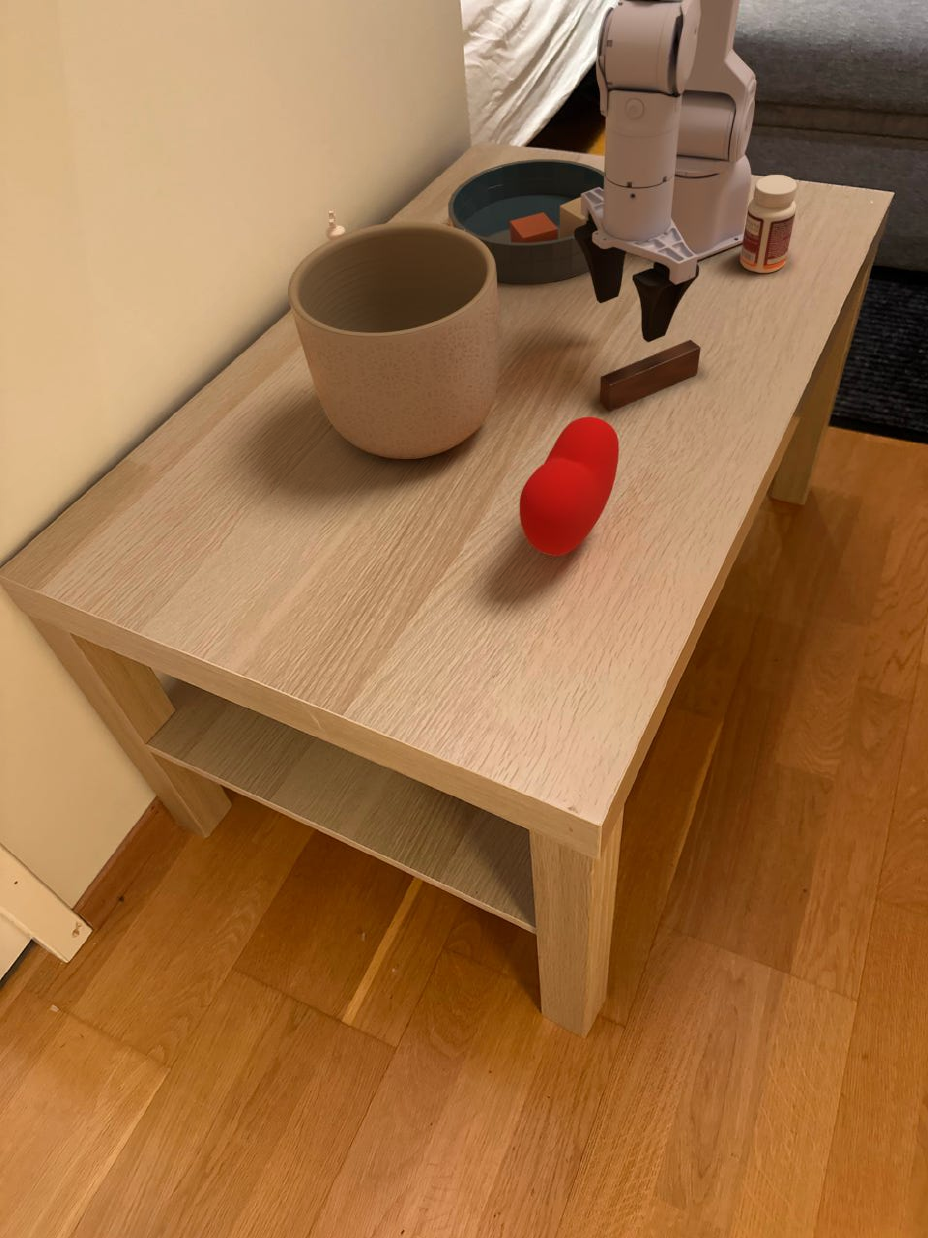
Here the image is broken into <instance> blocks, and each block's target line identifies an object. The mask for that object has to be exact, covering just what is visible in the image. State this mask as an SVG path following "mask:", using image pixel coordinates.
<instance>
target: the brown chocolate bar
mask: <svg viewBox="0 0 928 1238" xmlns="http://www.w3.org/2000/svg"><path fill="white" fill-rule="evenodd" d="M701 350H702V349H701V346H699V345H698V344H697V343H696V342H695V341H693V340H692V339H689V340H686V341H684V342H682V343H681V342H680V343H678V344H676V345H674V346H671V347H669V348H666V349H665V350H662V351H660V352H659V351H658V352H657V353H654V354H652V355H650V356H647V357H645V358H641V359H640V360H637V361H635V362H633V363H630V364H628V365H626V366H623V367H621V368H618V369H616V370H613V371H611V372H608V373H606V374H603V375H601V376H600V378H599V379H600V380H599V404H600V405H601V406H602V407H603V408H604V409H605V410H606V411H607V412H611V411H614V410H616V409H619V408H620V407H623V406H626V405H628V404H630V403H632V402H635V401H637V400H639V399H642V398H645V397H647V396H649V395H651V394H654V393H656V392H658V391H661V390H663V389H665V388H667V387H670V386H672V385H675V384H677V383H679V382H682V381H684V380H686V379H689V378H691V377H693V376H697V375H698V370H699V363H700V356H701Z"/></svg>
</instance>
